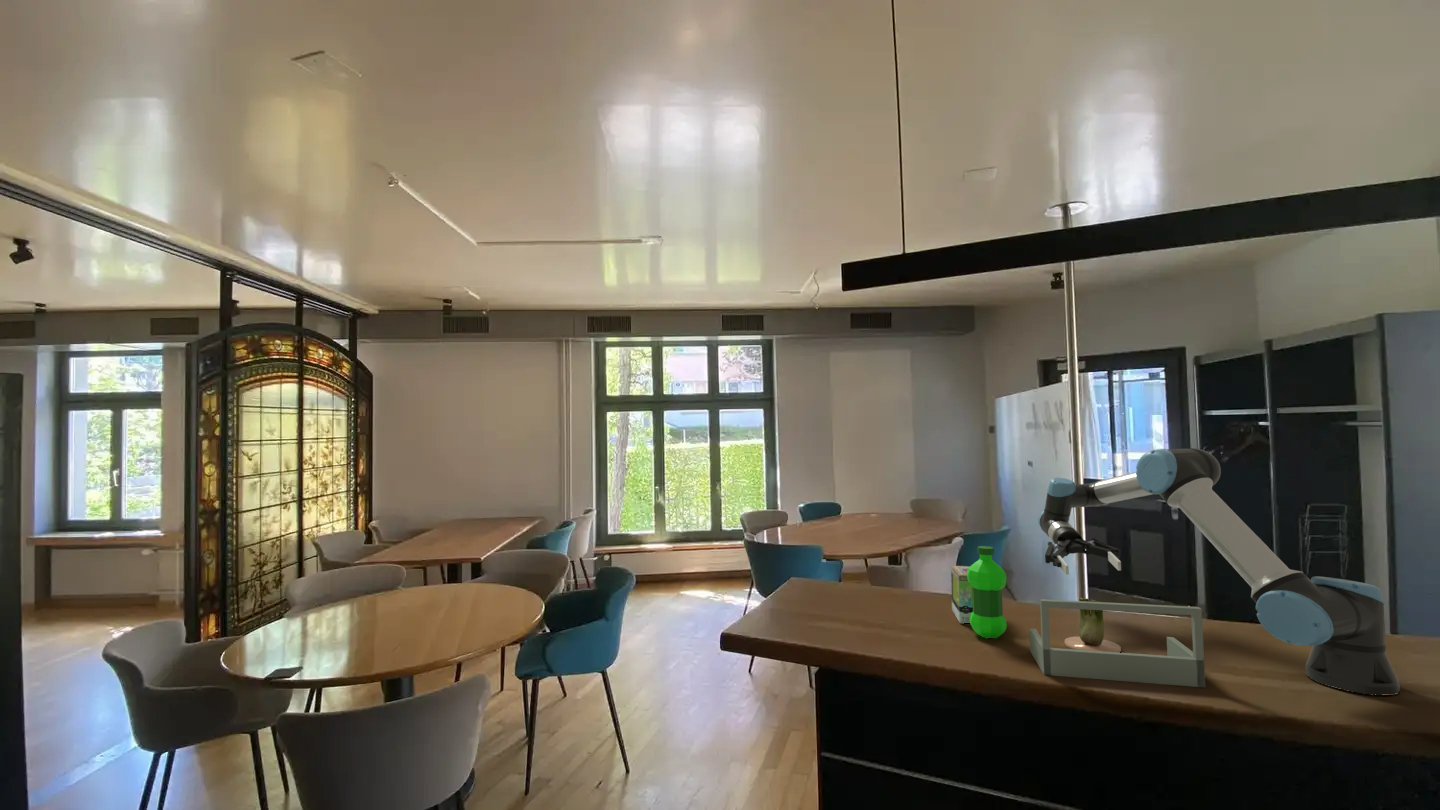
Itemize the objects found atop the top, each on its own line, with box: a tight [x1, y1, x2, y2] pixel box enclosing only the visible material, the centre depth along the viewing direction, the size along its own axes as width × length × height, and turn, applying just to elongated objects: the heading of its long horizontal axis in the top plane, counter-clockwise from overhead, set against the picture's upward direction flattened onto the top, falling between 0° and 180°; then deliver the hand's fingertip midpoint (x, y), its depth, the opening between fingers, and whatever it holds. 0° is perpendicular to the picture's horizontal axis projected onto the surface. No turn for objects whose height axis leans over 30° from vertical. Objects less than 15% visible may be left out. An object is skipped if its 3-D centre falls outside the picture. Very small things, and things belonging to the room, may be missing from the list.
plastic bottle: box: [967, 545, 1008, 639], centre depth 181 cm, size 10×10×25 cm
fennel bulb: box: [1078, 597, 1105, 645], centre depth 170 cm, size 6×5×12 cm
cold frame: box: [1029, 598, 1206, 688], centre depth 155 cm, size 16×33×18 cm, turn 74°
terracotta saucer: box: [1064, 635, 1122, 653], centre depth 170 cm, size 13×13×1 cm
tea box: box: [950, 565, 973, 624], centre depth 198 cm, size 15×10×15 cm, turn 168°
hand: (1093, 568), depth 178 cm, fingers open, 13 cm apart
